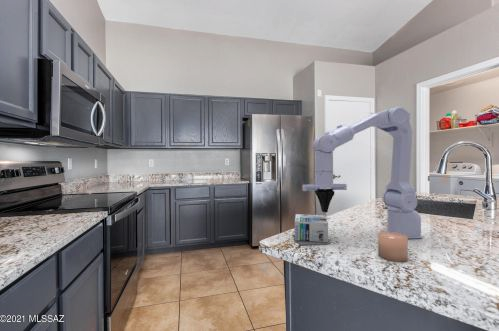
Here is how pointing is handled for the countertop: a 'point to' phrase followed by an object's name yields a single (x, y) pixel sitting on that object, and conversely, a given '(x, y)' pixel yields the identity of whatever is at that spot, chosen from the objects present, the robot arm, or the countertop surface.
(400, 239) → the tan rounded cylinder
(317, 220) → the light bulb box
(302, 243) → the flat gray square
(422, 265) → the countertop surface
